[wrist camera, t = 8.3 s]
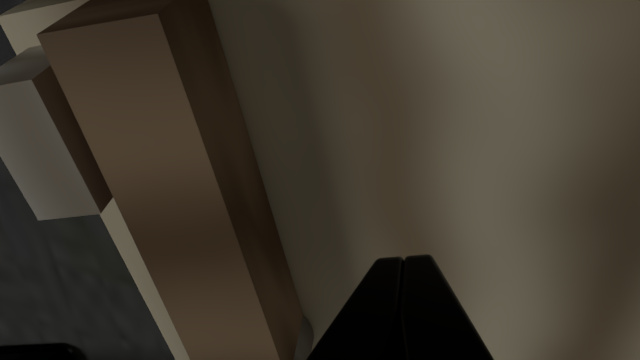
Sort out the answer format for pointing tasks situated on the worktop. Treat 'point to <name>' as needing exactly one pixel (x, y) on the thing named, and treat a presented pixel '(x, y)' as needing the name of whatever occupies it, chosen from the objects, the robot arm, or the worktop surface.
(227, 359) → the brown square bar
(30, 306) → the worktop surface
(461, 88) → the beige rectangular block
